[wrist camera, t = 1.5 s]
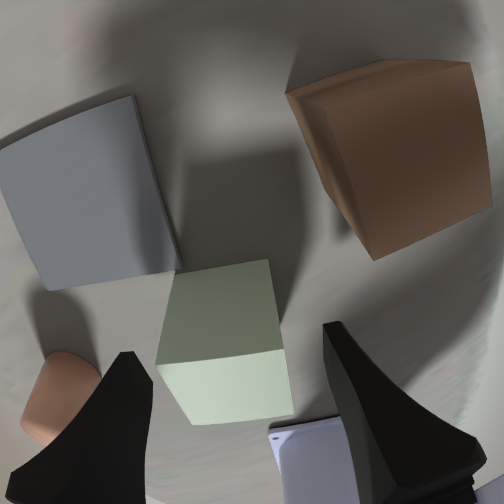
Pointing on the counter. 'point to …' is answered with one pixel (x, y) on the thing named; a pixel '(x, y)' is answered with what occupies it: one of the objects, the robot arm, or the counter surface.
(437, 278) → the counter surface
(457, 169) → the walnut block
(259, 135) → the counter surface
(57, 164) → the slate coaster
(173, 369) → the sage block
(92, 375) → the terracotta cylinder
